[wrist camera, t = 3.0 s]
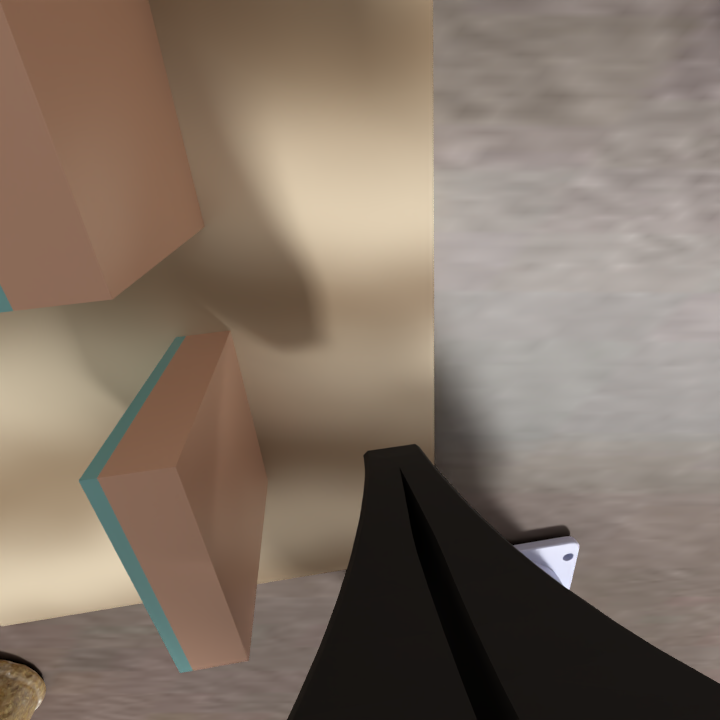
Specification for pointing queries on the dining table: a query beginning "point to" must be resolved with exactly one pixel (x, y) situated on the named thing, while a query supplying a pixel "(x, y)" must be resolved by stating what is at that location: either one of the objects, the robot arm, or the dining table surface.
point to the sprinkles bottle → (19, 691)
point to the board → (250, 291)
